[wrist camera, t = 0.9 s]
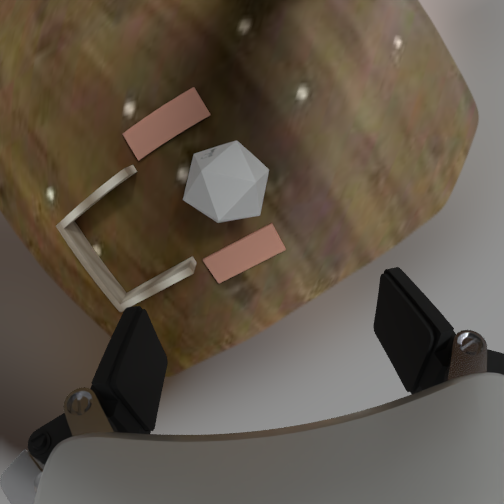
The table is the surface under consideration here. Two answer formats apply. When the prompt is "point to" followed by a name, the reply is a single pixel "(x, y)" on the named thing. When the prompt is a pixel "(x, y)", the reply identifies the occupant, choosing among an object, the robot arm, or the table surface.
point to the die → (226, 183)
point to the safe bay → (97, 266)
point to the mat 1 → (166, 123)
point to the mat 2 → (244, 253)
